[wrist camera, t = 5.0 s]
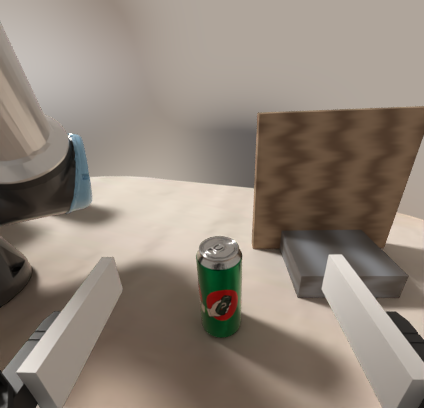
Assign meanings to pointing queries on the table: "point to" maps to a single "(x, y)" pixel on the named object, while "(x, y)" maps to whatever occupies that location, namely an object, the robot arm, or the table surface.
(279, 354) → the table surface
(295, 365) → the table surface
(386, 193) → the wall board
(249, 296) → the table surface
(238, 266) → the soda can
